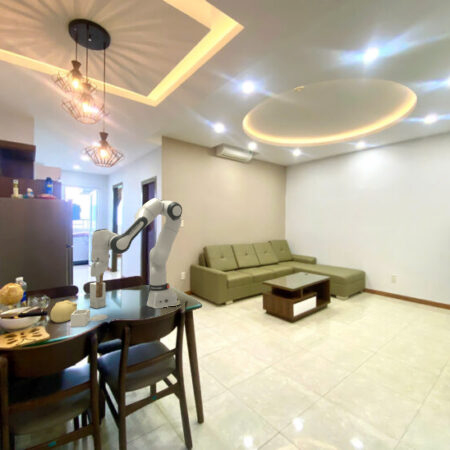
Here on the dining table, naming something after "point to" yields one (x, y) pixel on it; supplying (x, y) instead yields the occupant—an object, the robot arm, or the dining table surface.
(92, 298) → the skincare box
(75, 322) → the pen cup
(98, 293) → the dowel
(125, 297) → the dining table surface
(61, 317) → the pale yellow rounded lump
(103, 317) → the coaster
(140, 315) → the dining table surface
